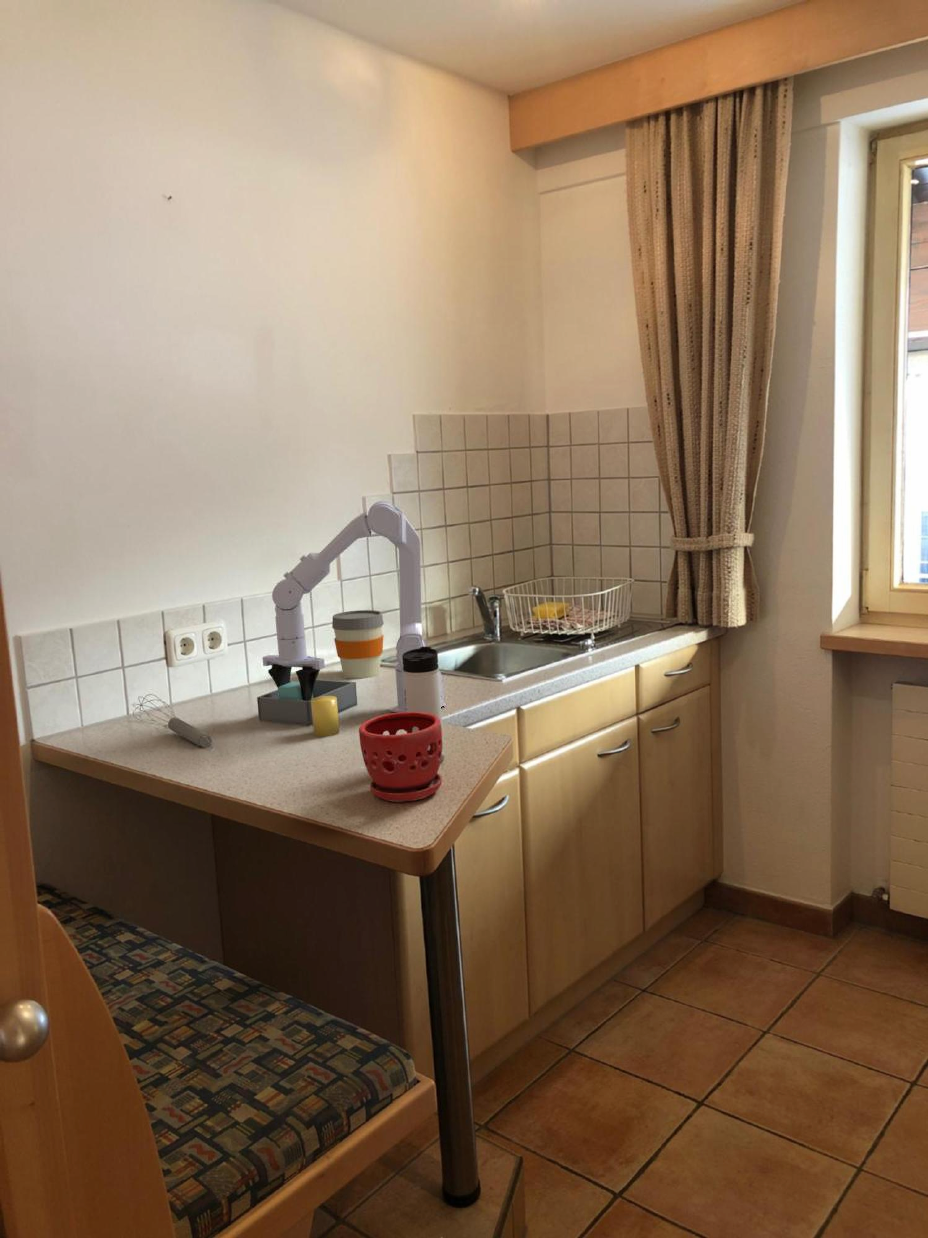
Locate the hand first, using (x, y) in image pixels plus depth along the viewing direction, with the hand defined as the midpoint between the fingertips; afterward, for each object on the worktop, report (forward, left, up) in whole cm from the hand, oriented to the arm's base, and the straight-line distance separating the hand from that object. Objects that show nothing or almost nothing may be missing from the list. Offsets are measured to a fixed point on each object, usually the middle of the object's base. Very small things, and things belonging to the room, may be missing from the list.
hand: (296, 700), depth 214 cm
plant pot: (-46, +33, -4) cm, 57 cm away
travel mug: (-41, +17, -4) cm, 45 cm away
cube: (0, 0, -2) cm, 2 cm away
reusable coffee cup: (+9, -38, -4) cm, 39 cm away
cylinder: (-13, +8, -4) cm, 16 cm away
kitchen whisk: (+18, +17, -4) cm, 25 cm away
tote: (0, -4, -4) cm, 5 cm away
